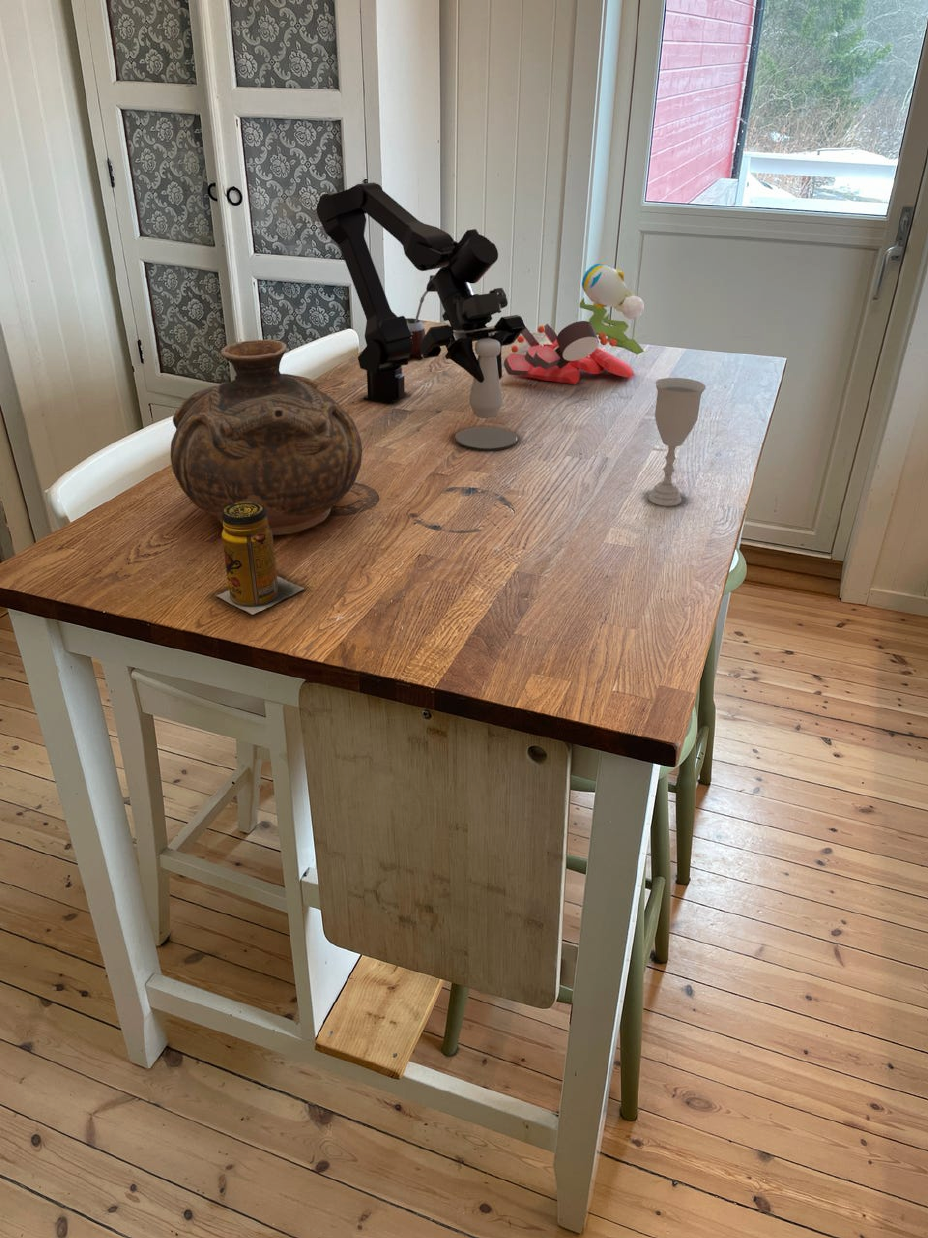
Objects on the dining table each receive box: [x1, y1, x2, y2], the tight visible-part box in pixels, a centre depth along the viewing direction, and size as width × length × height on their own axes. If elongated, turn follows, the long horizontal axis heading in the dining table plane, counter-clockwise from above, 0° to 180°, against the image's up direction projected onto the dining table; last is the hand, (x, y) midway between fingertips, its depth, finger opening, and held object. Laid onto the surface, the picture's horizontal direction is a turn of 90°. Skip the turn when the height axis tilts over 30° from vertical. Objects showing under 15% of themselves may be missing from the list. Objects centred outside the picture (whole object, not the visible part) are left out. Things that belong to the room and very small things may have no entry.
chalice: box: [648, 377, 707, 507], centre depth 141 cm, size 7×7×18 cm
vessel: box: [170, 339, 363, 536], centre depth 133 cm, size 27×28×25 cm
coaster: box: [454, 425, 518, 452], centre depth 167 cm, size 11×11×1 cm
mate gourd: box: [405, 290, 429, 360], centre depth 207 cm, size 8×8×15 cm
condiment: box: [215, 502, 306, 616], centre depth 116 cm, size 7×8×12 cm
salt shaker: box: [469, 338, 504, 420], centre depth 161 cm, size 6×6×13 cm
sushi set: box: [503, 263, 645, 385], centre depth 195 cm, size 29×30×24 cm
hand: (491, 379), depth 160 cm, fingers closed on salt shaker, 3 cm apart
